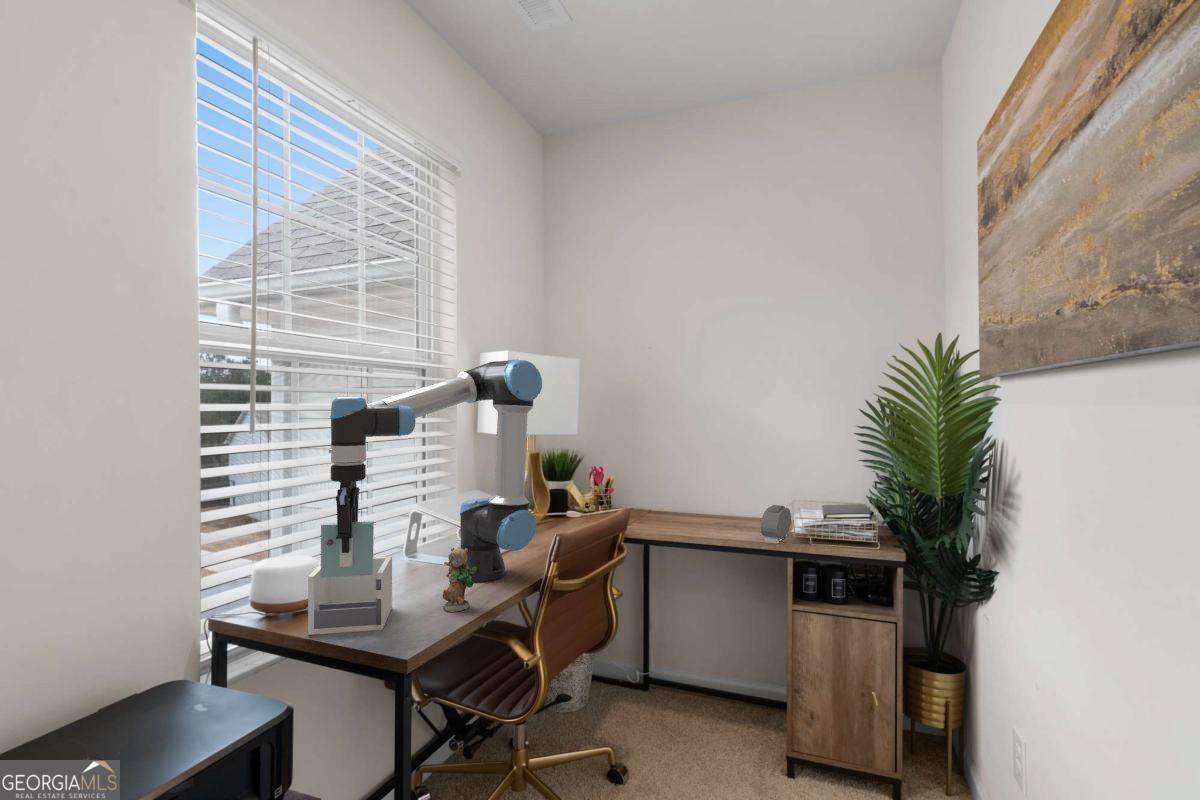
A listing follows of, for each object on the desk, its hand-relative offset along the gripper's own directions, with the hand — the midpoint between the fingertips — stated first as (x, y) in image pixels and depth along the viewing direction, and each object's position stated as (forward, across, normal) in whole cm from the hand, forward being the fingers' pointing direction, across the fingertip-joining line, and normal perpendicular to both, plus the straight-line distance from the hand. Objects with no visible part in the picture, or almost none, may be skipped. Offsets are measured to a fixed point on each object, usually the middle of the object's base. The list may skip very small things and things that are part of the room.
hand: (347, 563), depth 139 cm
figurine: (+15, -9, +25) cm, 31 cm away
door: (+3, 0, 0) cm, 3 cm away
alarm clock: (+15, -63, +141) cm, 155 cm away
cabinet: (+15, -5, 0) cm, 16 cm away
